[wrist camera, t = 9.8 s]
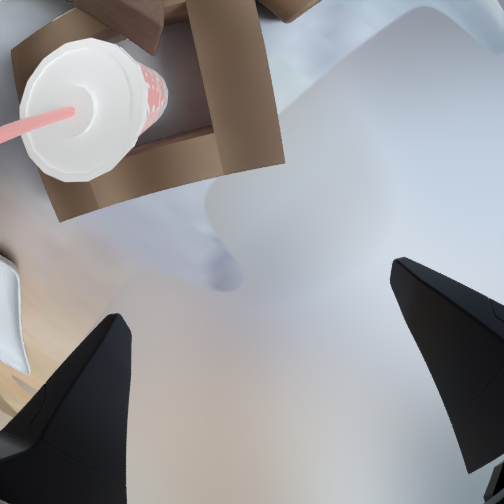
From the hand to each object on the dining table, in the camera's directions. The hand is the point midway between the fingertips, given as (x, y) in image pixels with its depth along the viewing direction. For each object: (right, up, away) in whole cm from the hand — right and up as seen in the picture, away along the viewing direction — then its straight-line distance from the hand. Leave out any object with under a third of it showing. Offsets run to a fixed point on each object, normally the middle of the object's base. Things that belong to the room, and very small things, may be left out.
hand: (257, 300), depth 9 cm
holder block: (-7, +12, +7) cm, 16 cm away
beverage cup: (-8, +12, +8) cm, 16 cm away
